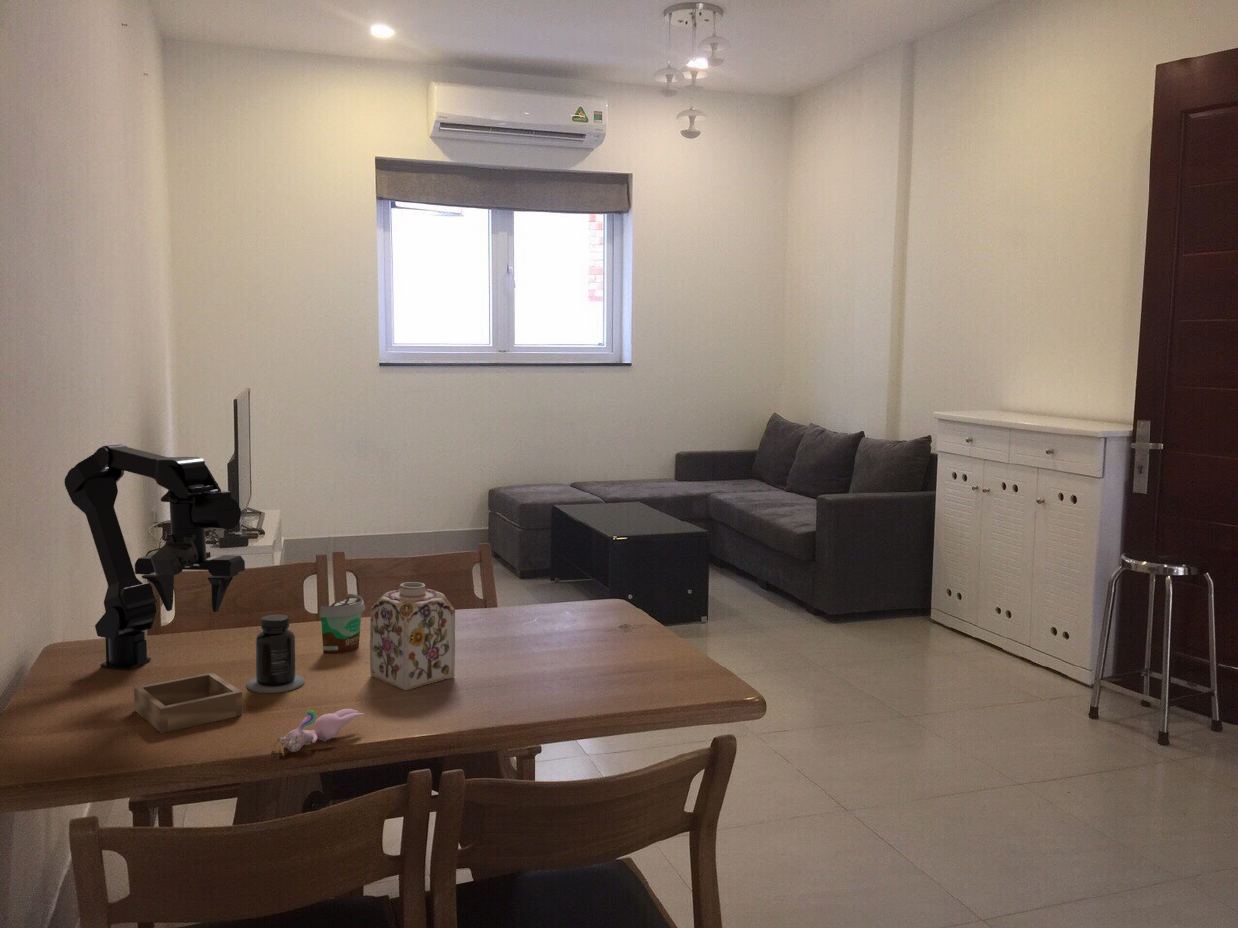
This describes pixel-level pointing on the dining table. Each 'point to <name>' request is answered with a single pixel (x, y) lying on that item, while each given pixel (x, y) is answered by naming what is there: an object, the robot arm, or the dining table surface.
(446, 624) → the decorative jar
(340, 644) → the food container
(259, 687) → the coaster
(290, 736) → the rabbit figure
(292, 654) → the supplement bottle
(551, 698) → the dining table surface
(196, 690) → the walnut box
